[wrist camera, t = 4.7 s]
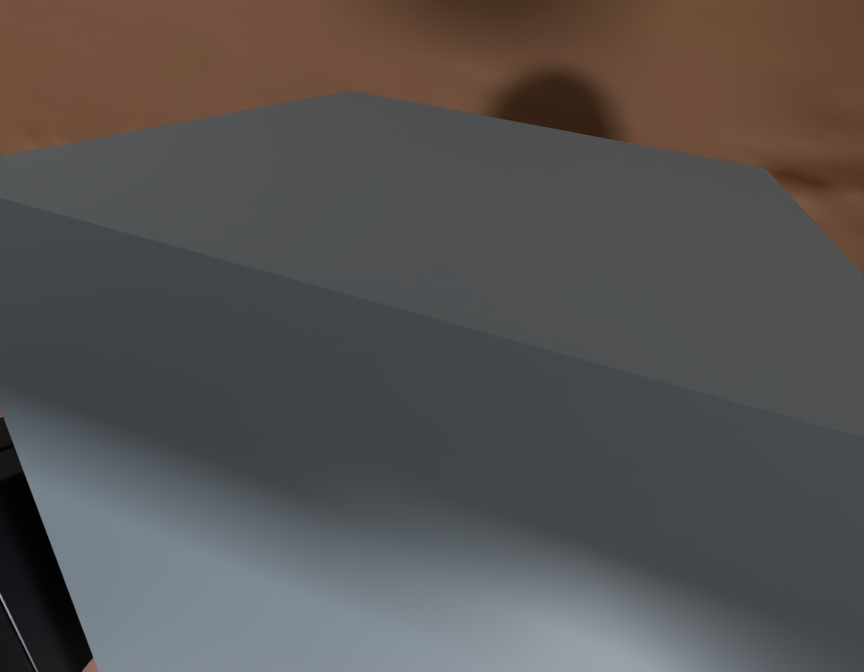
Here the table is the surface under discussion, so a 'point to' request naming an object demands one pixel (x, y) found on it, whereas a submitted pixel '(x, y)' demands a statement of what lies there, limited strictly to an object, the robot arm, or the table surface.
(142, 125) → the table surface
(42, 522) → the robot arm
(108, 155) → the grey rectangular block
